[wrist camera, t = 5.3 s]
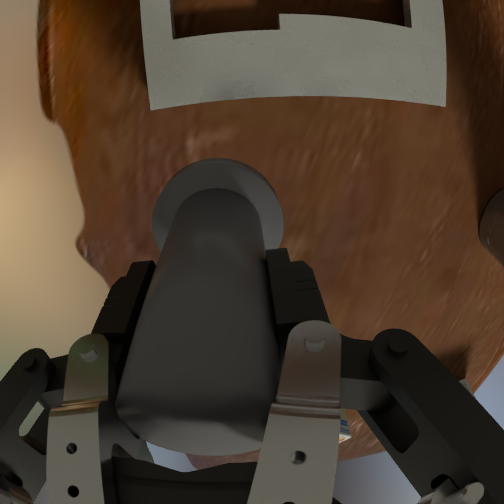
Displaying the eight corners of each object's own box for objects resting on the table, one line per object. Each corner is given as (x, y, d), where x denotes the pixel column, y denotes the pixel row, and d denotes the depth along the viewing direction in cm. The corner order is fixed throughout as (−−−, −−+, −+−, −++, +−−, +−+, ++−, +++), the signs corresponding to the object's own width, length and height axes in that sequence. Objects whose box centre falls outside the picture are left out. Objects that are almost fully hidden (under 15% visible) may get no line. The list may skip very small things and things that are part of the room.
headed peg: (277, 152, 13) (355, 327, 5) (282, 263, 17) (320, 456, 8) (146, 167, 13) (24, 341, 5) (171, 273, 17) (132, 460, 8)
